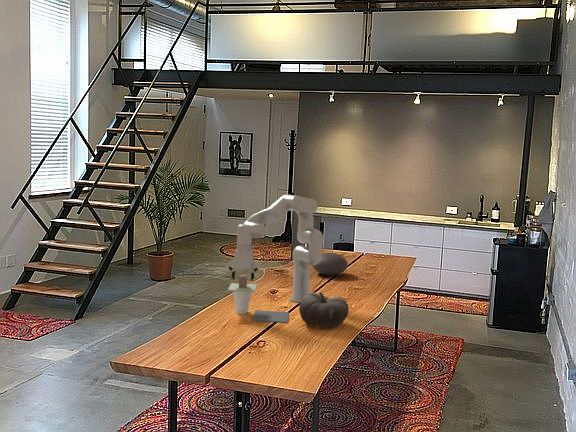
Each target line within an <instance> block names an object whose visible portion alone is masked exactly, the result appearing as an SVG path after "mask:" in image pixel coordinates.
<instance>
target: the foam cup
mask: <svg viewBox="0 0 576 432" xmlns="http://www.w3.org/2000/svg"><path fill="white" fill-rule="evenodd" d="M232 292H233V297H234V298H233V300H234V309H235V314H240V315H244V314H248V313H249V312H248V311H249V307H250V302H251V301H250V300H251V296H252V295H251V294H252V292H237V291H232Z"/></svg>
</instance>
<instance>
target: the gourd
mask: <svg viewBox="0 0 576 432" xmlns="http://www.w3.org/2000/svg"><path fill="white" fill-rule="evenodd" d="M298 307H299V308H298V311H299V314H300V318H301V319H302V321H303V322H304V323H305V324H306V325H308V326H310V327H319V328H320V329H335V328H336V327H338V326H341V325H342V324H343V323H344V322H345V320H346V319H347V317H348V315H349V305H348V302H347V301H346V300H345V299H344V298H342V297H340V296H339V297H335V296H334V297H330V298H329V297H328V296H326V295H324V294H323V292H319V293H318V292H313V291H311V292H310V293H308V294H307V295H306V296H304V297H303V298H302V300H301V302H299V306H298Z"/></svg>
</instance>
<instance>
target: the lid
mask: <svg viewBox="0 0 576 432" xmlns="http://www.w3.org/2000/svg"><path fill="white" fill-rule="evenodd" d="M257 287H258V284H257V283H254V284H253V283H248V275H247V274H239V276H238V283H235V282H230V284H229V287H228V289H227V292H233V291H237V292H251V293H256V290H257Z"/></svg>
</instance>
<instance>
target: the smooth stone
mask: <svg viewBox="0 0 576 432" xmlns="http://www.w3.org/2000/svg"><path fill="white" fill-rule="evenodd" d="M311 266H312V268H313V270H314V271H316V272H317V273H319V274H321V275H325V276H337V275H340V274H343V273H344V272H345V271H346V270H347V269H348V266H349V263H348V260H347V258H345V257H344V256H342V255H340V254H338V253H333V252H324V253H322V254H321V259H320V262H319V263H318V264H317V265H311Z"/></svg>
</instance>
